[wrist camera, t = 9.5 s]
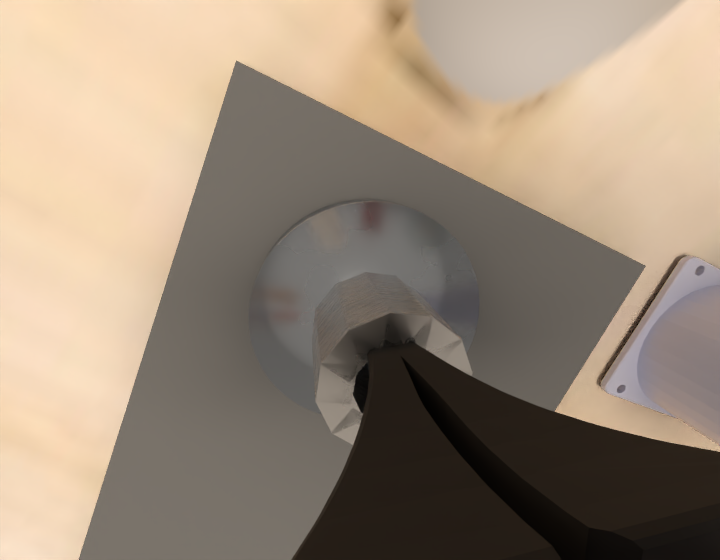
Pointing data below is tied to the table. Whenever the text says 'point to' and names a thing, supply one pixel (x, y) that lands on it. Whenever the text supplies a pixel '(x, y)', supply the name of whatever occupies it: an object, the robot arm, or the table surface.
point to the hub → (345, 260)
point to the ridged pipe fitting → (370, 341)
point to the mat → (236, 354)
